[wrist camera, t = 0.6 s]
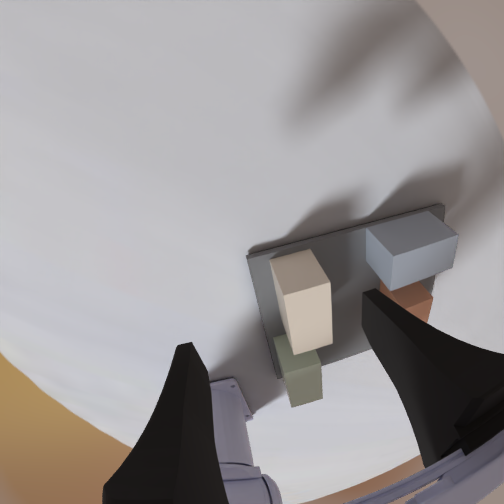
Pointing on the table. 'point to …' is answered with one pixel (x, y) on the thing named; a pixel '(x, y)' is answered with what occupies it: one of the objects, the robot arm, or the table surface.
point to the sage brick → (299, 372)
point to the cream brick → (303, 300)
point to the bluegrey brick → (410, 249)
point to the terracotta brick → (411, 298)
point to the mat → (342, 286)
